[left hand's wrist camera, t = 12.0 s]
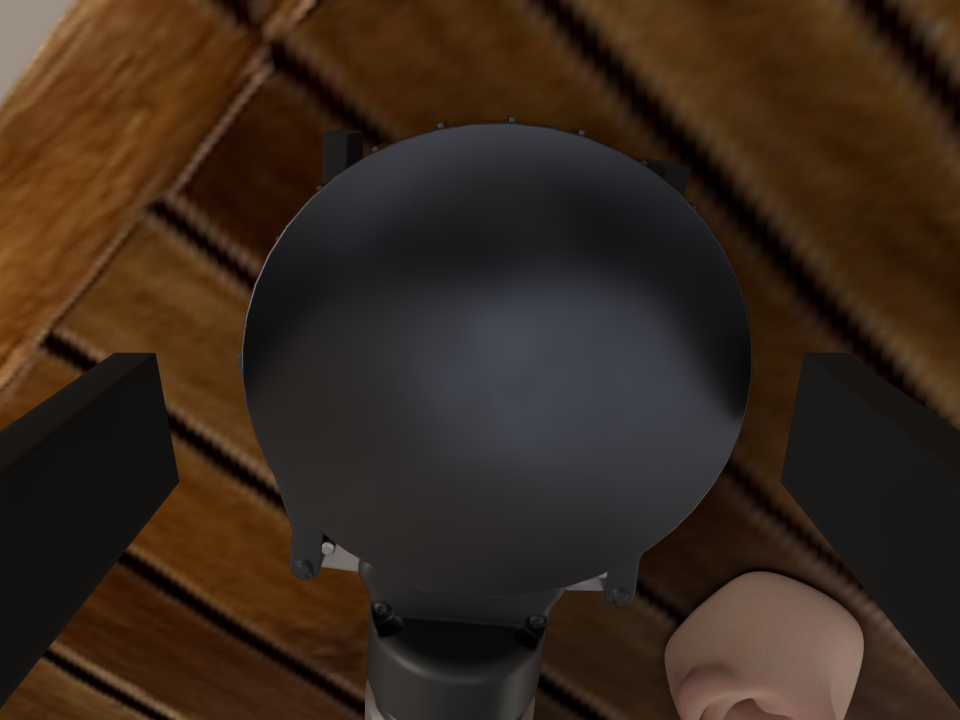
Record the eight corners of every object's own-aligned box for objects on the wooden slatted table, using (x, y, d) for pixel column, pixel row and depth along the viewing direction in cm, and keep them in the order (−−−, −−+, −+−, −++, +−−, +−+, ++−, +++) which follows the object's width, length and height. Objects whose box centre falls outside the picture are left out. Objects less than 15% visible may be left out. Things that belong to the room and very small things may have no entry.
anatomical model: (727, 611, 31) (959, 656, 32) (702, 556, 35) (909, 598, 35) (639, 806, 36) (843, 841, 36) (625, 740, 39) (810, 773, 40)
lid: (253, 101, 14) (214, 101, 12) (764, 129, 14) (809, 133, 12) (281, 533, 18) (255, 587, 16) (684, 553, 18) (708, 609, 16)
